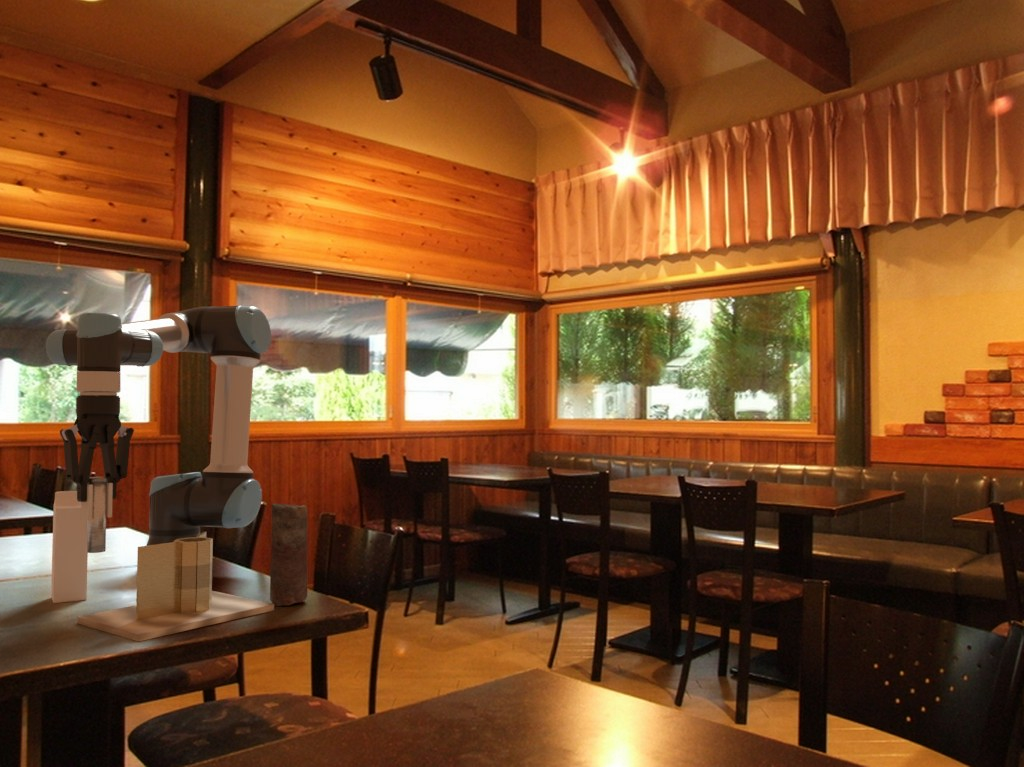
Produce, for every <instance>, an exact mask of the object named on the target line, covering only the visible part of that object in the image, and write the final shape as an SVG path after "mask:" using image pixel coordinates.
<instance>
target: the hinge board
mask: <svg viewBox="0 0 1024 767" xmlns="http://www.w3.org/2000/svg"><path fill="white" fill-rule="evenodd" d="M273 611H275V605H274V604H273V603H272V602H267V601H261V600H257V599H253V598H247V597H243V596H237V595H234V594H229V593H225V592H220V591H215V590H212V602H211V608H210V609H209V610H207V611H202V612H197V613H172V614H167V615H162V616H157V617H153V618H148V619H143V620H136V605H131V606H125V607H120V608H115V609H110V610H109V609H108V610H104V611H99V612H95V613H94V612H93V613H89V614H83V615H78V616H77V618H76V623H77V624H78V625H81V626H85V627H87V628H88V627H89V628H92V629H94V630H95V629H96V630H99V631H102V632H105V633H109V634H111V635H116V636H119V637H122V638H125V639H128V640H132V641H135V642H143V641H147V640H150V639H151V640H152V639H155V638H159V637H164V636H169V635H174V634H177V633H181V632H185V631H190V630H195V629H198V628H203V627H208V626H211V625H216V624H217V625H218V624H220V623H221V624H222V623H225V622H229V621H234V620H238V619H243V618H246V617H251V616H256V615H260V614H264V613H269V612H273Z"/></svg>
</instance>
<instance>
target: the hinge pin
mask: <svg viewBox="0 0 1024 767" xmlns="http://www.w3.org/2000/svg"><path fill="white" fill-rule="evenodd" d="M107 482H108V477H105V476H90V477H89V482H88V484H92V485H93V506H92V519H91V520H87V553H88V554H98V553H104V552H105V553H106V550H107V549H106V547H107V545H106V543H107V542H106V540H107V538H106V536H107V533H106V532H107V517H106V484H107Z"/></svg>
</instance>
